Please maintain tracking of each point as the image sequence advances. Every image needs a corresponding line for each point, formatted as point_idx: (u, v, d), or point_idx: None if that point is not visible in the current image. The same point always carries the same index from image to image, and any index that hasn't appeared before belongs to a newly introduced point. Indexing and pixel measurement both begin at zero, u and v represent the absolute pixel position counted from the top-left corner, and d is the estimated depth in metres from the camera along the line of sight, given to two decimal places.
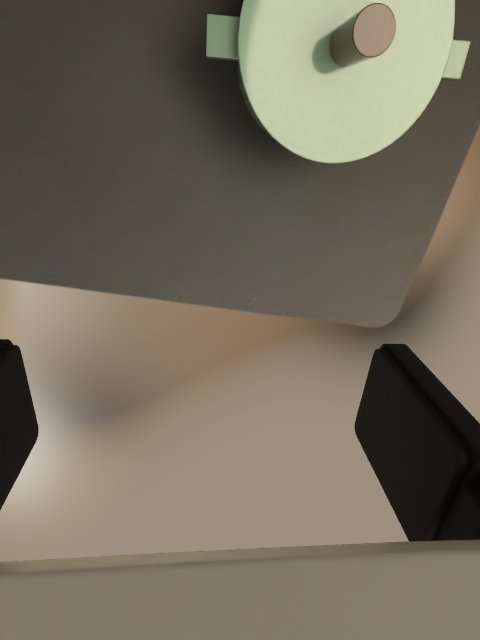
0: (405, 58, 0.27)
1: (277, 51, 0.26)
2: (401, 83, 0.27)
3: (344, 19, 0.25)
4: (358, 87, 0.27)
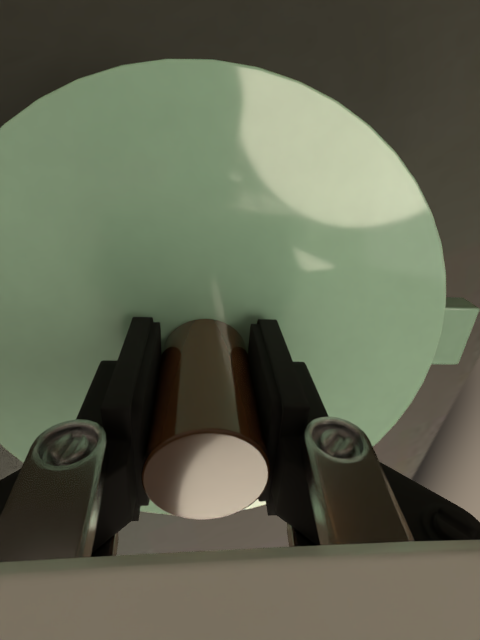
0: (338, 367, 0.12)
1: (43, 374, 0.11)
2: (334, 403, 0.13)
3: (189, 314, 0.11)
4: None
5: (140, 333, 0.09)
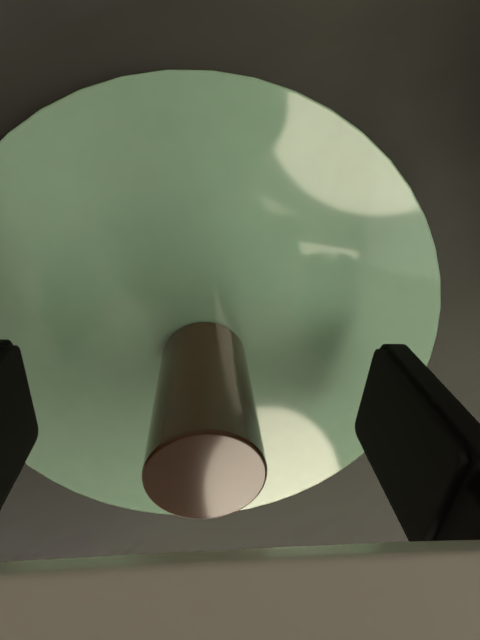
0: (335, 369, 0.12)
1: (45, 377, 0.12)
2: (331, 405, 0.13)
3: (188, 318, 0.11)
4: None
5: None
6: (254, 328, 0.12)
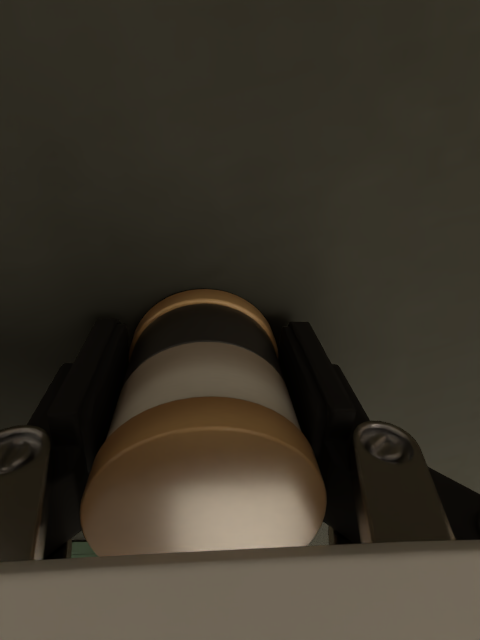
0: None
1: None
2: None
3: None
4: None
5: (102, 335, 0.09)
6: None
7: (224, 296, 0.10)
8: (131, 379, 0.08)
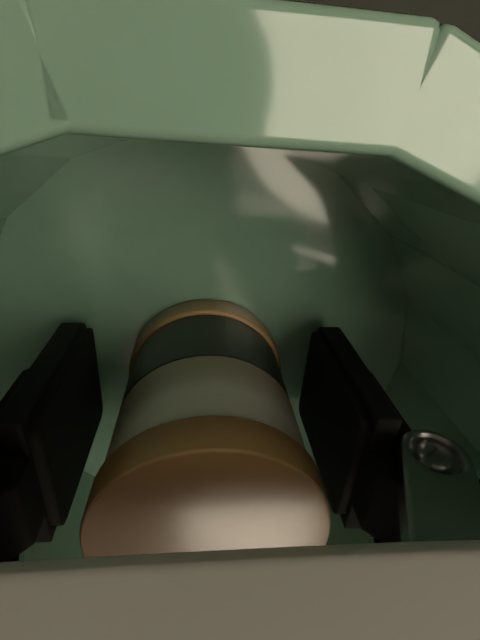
0: None
1: None
2: None
3: None
4: None
5: (63, 340, 0.09)
6: None
7: (226, 307, 0.10)
8: (132, 394, 0.08)
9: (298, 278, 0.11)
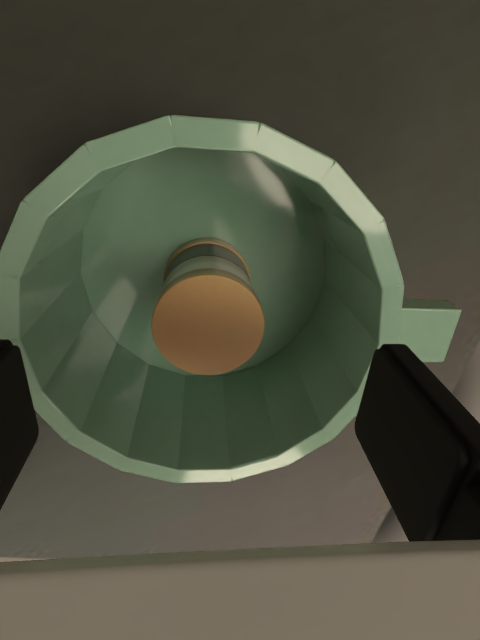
0: None
1: None
2: None
3: None
4: None
5: None
6: None
7: (218, 241, 0.18)
8: (170, 274, 0.16)
9: (259, 225, 0.19)
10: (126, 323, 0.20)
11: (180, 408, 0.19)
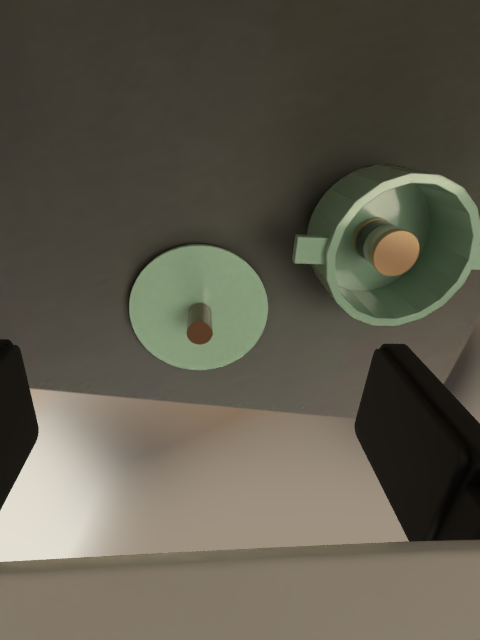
0: (238, 317, 0.42)
1: (155, 318, 0.41)
2: (239, 329, 0.43)
3: (195, 301, 0.41)
4: None
5: None
6: (214, 304, 0.41)
7: None
8: (372, 232, 0.36)
9: (401, 211, 0.39)
10: None
11: (359, 301, 0.40)
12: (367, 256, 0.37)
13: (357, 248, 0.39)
